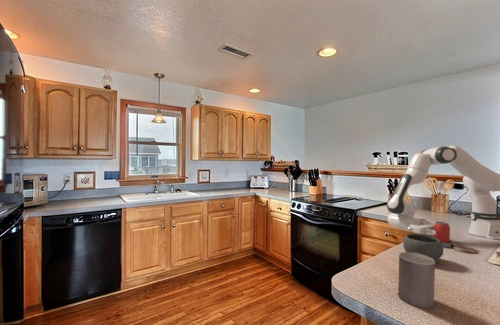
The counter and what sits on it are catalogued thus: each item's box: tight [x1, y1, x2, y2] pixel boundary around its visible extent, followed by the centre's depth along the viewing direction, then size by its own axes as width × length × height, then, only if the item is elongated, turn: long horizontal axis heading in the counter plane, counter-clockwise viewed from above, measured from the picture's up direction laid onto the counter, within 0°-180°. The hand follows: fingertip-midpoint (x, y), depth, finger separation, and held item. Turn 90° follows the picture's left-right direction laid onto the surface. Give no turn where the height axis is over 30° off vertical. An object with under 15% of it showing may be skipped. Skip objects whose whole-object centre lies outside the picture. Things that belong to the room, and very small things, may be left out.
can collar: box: [432, 236, 455, 249], centre depth 131 cm, size 10×10×2 cm
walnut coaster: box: [452, 245, 478, 255], centre depth 123 cm, size 9×9×1 cm
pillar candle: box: [397, 251, 436, 309], centre depth 78 cm, size 10×10×15 cm
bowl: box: [402, 233, 444, 262], centre depth 111 cm, size 15×15×10 cm
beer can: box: [433, 221, 451, 243], centre depth 131 cm, size 7×7×12 cm
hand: (441, 231), depth 132 cm, fingers open, 8 cm apart
